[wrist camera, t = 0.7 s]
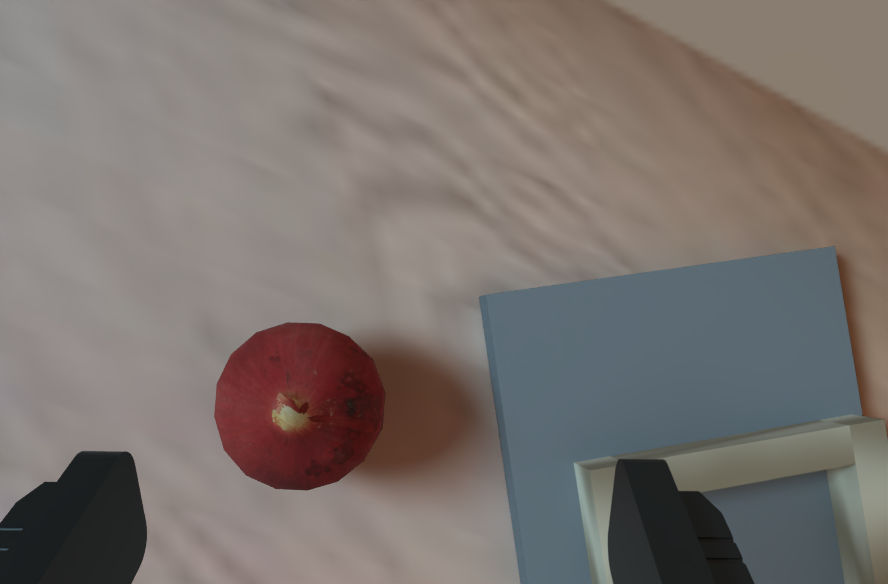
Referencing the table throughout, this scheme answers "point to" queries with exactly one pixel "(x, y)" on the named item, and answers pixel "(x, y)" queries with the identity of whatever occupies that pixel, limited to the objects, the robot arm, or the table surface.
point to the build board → (672, 397)
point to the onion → (299, 406)
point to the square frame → (764, 458)
